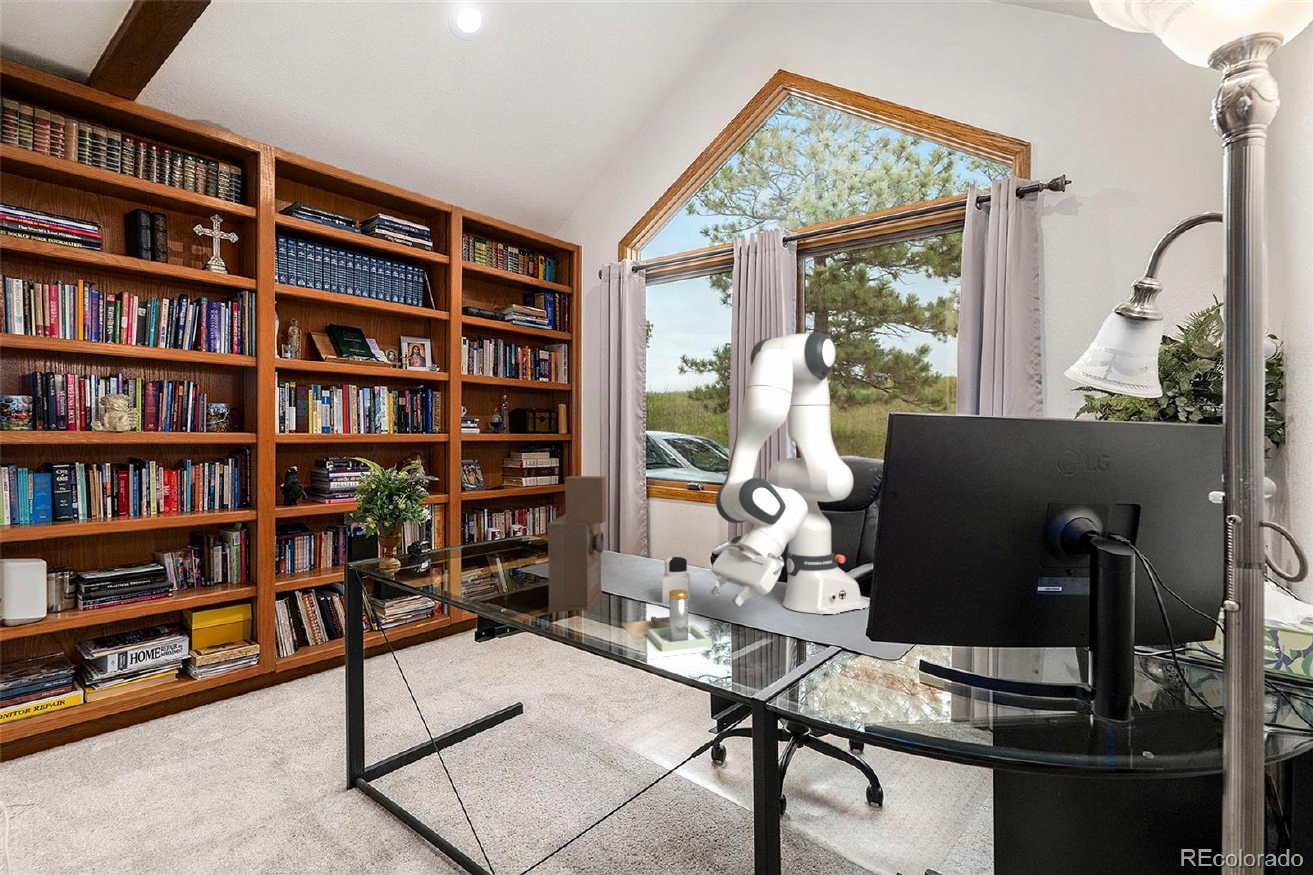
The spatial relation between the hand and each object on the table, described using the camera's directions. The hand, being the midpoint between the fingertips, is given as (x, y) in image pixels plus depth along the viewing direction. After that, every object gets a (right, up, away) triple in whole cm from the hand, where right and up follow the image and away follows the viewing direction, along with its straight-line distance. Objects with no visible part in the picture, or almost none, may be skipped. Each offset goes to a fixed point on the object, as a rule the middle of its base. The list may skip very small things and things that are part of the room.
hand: (724, 598), depth 148 cm
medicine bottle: (-10, -9, +33) cm, 35 cm away
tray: (-10, -9, -4) cm, 15 cm away
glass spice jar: (-10, -9, -4) cm, 14 cm away
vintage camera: (-36, -9, +30) cm, 48 cm away
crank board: (-16, -9, +6) cm, 19 cm away
